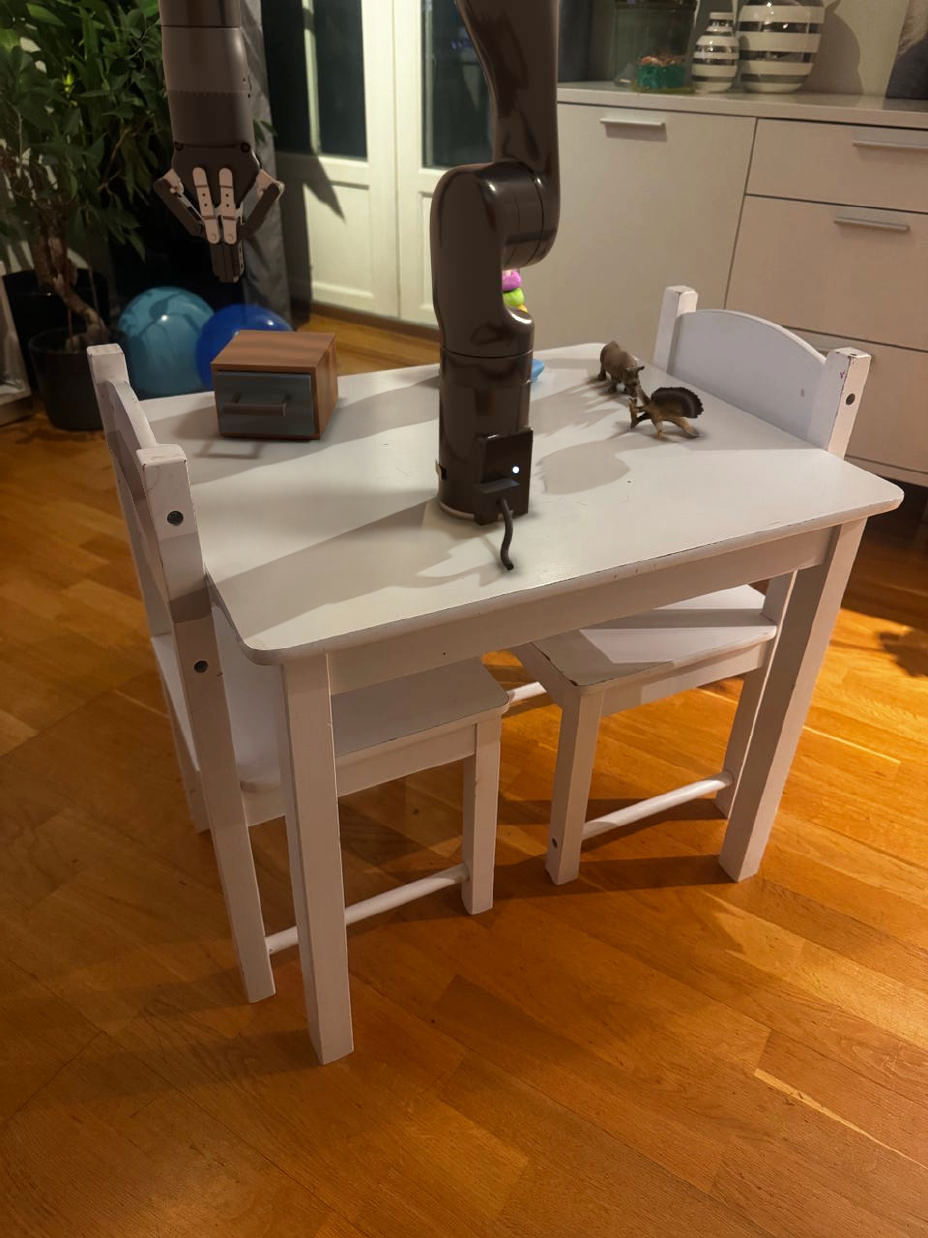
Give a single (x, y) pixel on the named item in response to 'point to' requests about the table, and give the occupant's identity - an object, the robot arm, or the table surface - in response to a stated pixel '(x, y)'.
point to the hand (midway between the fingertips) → (230, 280)
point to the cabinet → (286, 367)
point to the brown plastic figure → (667, 408)
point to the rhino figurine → (620, 368)
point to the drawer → (265, 403)
